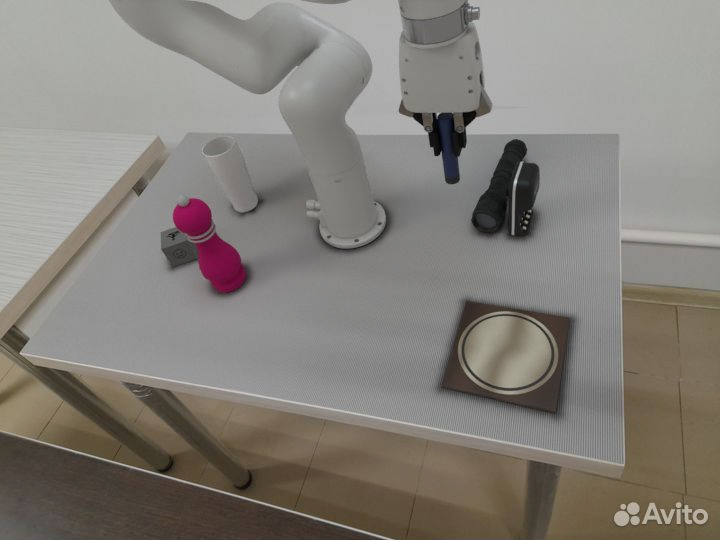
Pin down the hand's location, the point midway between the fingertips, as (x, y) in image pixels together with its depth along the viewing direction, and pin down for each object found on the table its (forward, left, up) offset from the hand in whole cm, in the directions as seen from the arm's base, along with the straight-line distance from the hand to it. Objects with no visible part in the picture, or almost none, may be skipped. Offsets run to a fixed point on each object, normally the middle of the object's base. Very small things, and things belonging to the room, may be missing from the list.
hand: (448, 149), depth 74 cm
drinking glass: (-45, +4, -21) cm, 50 cm away
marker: (0, 0, -6) cm, 6 cm away
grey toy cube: (-51, -11, -21) cm, 56 cm away
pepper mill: (-38, -15, -21) cm, 46 cm away
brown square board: (+12, -19, -20) cm, 30 cm away
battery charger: (+10, +7, -21) cm, 24 cm away
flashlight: (+5, +14, -21) cm, 25 cm away
